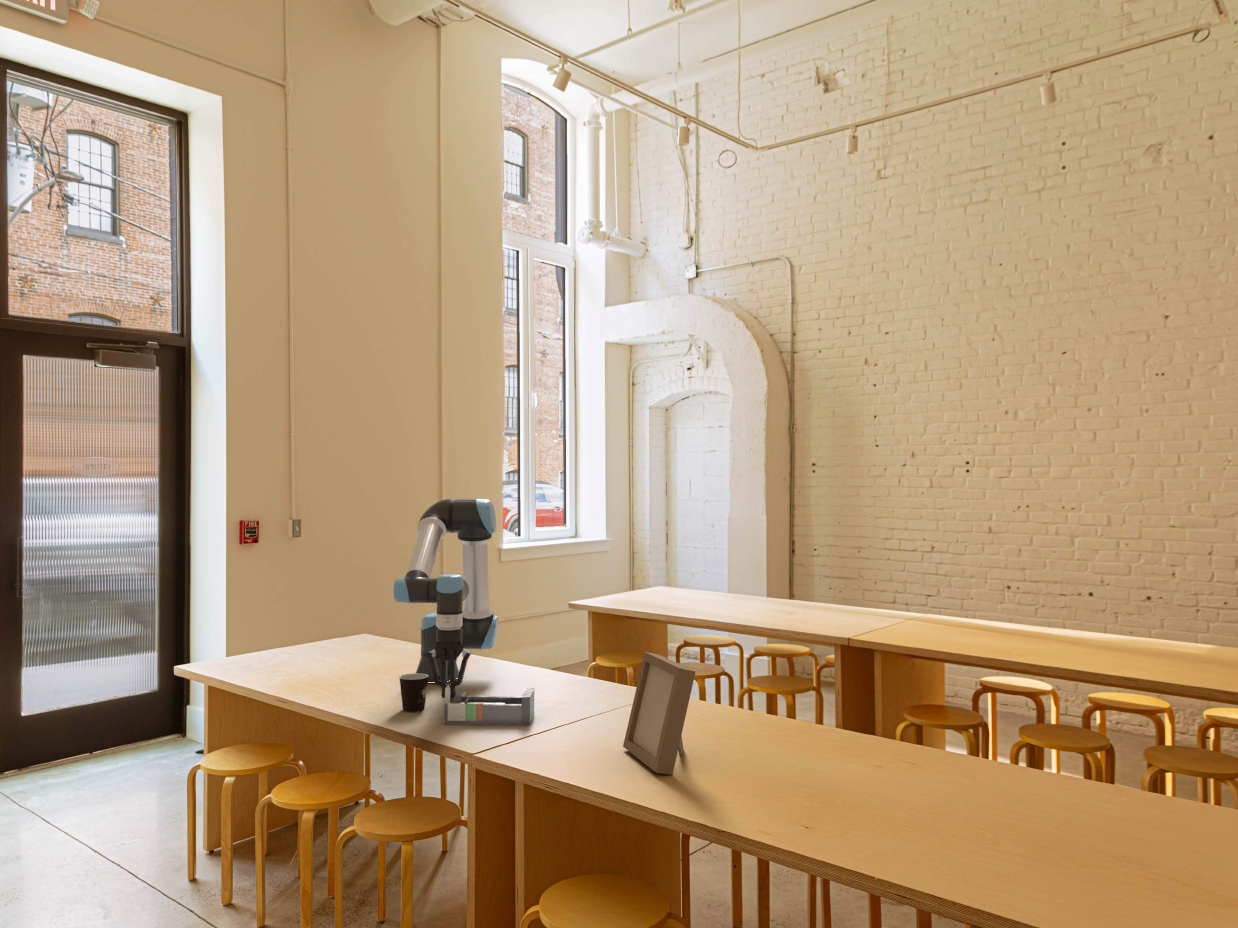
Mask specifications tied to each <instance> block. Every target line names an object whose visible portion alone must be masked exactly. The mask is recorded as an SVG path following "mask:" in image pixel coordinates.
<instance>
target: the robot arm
mask: <svg viewBox="0 0 1238 928" xmlns="http://www.w3.org/2000/svg"><path fill="white" fill-rule="evenodd" d="M496 516H497V515H496V511H495V507H494V504H493V502H492V501H491V500H490V499H482V498H444V499H441V500H438V501H437V502H435V503H433V504H432V505H430V506H429V507H428V508H427V509H426V510H425V511H424V512H423V513H422V515H421V517H420V519H419V521H418V524H417V527H416V528H417V533H418V534H417V537H416V540H415V544H414V547H413V550H412V554H411V557H410V560H409V563H408V566H407V569H406V572H405V576H402V577H397V578H396V579H395V580H394V582H393V583H394V584H393V590H392V591H393V598H394V601H395V602H396V603H403V604H436V612H433V613H429V614H426V615H424V616H423V617H422V618H421V621H420V622H421V625H420V659H419V661H418V665H417V668H416V670H415V673H421V674H427V675H428V682H435V683H434V685H435V686H439V687H440V688H441V699H444V705H445V704H446V703H447V704H448V703H449V702H452V698H454V696H455V695H456V693H457V692H456V691H457V690H456V688H457V686H460V685H462V683H463V679H464V675H465V672H466V668H467V664H468V662H469V661H468V660H469V658H470V656H471V655H472V652H471V651H469V650H479V651H481V650H490V649H492V648H493V647H494V646H495V643H496V638H497V631H498V625H499V616H497V615H494V609H493V608H492V607H490V601H489V599H490V598H489V597H490V596H489V594H490V592H489V554H488V552H489V551H488V542H489V541H490V540H491V539H492V537H493V535H494V534H495V533H496V532H497V518H496ZM449 533H452V534H457V539H458V541H459V542H461V543H462V575H463V576H462V575H461V574H456V573H452V574H451V573H447V574H440V575H438V576H437V577H432V576H431V575H432V573H433V568H434V566H435V561H436V559H437V554H438V552H439V548H440V544H441V540H442V539H443V538H444V537H445V536H446V534H449ZM461 654H462V655H461ZM460 656H461V657H462V660H461V664H460V666H459V667H460V668H459V667H458V664H457V662H458V658H459V657H460ZM456 678H458V679H457V680H456ZM449 680H450V682H447V681H449ZM448 683H449V685H448Z"/></svg>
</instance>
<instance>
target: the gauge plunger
mask: <svg viewBox="0 0 1238 928" xmlns="http://www.w3.org/2000/svg"><path fill="white" fill-rule="evenodd" d="M465 696H466V691H465V690H458V691H457V692H456V695H455V696H454V703H464V704H467V703H478V702H470V698H467V699H466V700H465ZM484 704H505V703H484Z"/></svg>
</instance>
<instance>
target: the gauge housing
mask: <svg viewBox="0 0 1238 928" xmlns="http://www.w3.org/2000/svg"><path fill="white" fill-rule="evenodd" d="M467 698H470V702H478V703H467V704H464V703H454V698H452V702H449V703H448V704H447V703H446V704H445V703H444V713H443V714H444V717H443V719H444V721H443V723H444V724H443V726H444V725H447V726H449V725H450V726H453V725H454V726H455V725H456V726H457V725H458V726H519V725H526V726H527V725H529V726H531V724H532V722H533V719H534V716H535V688H534V687H533V688H532V687H527V688H525V690H524V692H523V693H522V695H521V696H518V695H516V696H514V695H508V696H507V695H506V696H505V695H501V696H499V695H498V696H497V695H465V700H466V699H467ZM484 703H505V704H484ZM531 721H532V722H531ZM526 726H525V727H526ZM529 726H528V727H529Z"/></svg>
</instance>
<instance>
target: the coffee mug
mask: <svg viewBox="0 0 1238 928" xmlns="http://www.w3.org/2000/svg"><path fill="white" fill-rule="evenodd" d="M428 684H429V683H428V675H427V674H421V673H416V672H415V673H406V674H402V675H400V676H399V686H400V687H399V688H400V694H401V695H400V696H401V697H400V698H401V704H402V711H403V712H405V711H406V713H418V711H419V712H423V711H425V708H426V701H427V700H426V699H427V690H428ZM422 710H423V711H422Z"/></svg>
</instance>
